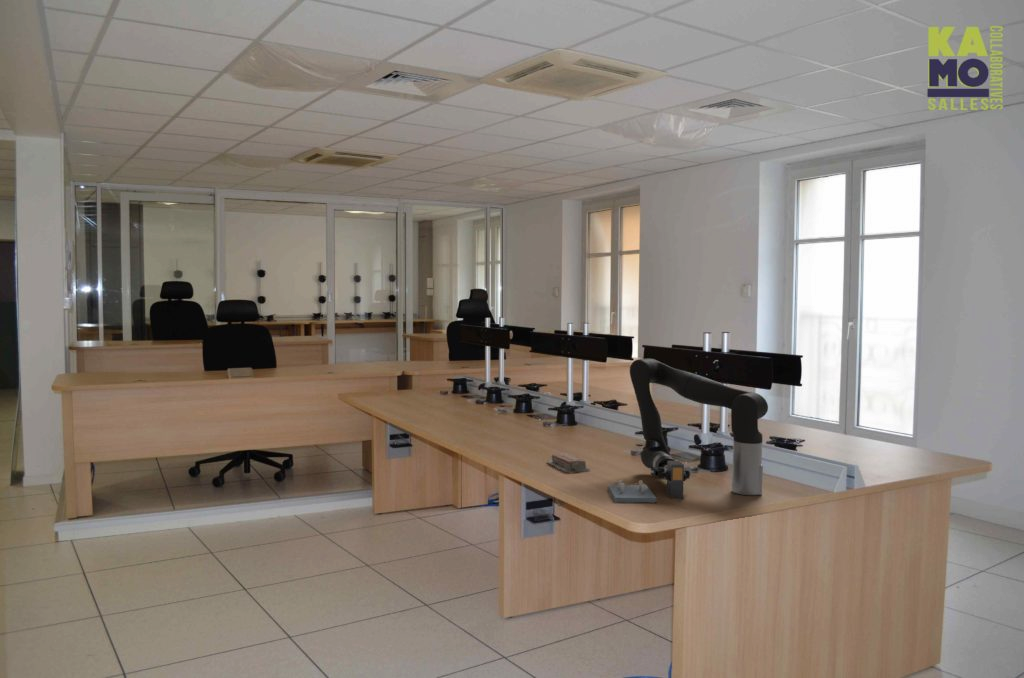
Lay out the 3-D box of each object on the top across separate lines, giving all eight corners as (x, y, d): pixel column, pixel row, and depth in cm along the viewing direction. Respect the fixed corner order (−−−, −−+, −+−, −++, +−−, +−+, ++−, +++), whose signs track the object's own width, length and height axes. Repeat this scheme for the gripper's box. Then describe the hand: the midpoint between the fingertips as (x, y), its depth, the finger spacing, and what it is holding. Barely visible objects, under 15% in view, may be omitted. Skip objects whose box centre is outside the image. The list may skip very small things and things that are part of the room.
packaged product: (591, 459, 280) (566, 461, 277) (590, 472, 281) (566, 474, 277) (569, 450, 297) (546, 451, 293) (569, 462, 297) (546, 464, 294)
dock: (646, 489, 254) (646, 476, 253) (656, 502, 238) (656, 488, 237) (607, 489, 253) (608, 476, 253) (615, 502, 237) (615, 488, 237)
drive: (678, 493, 249) (679, 460, 249) (683, 498, 243) (683, 464, 243) (666, 493, 249) (667, 460, 249) (670, 498, 243) (671, 464, 243)
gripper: (645, 455, 260) (655, 466, 243) (686, 455, 260) (699, 466, 243) (644, 476, 260) (655, 489, 243) (685, 477, 261) (699, 489, 243)
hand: (677, 477), depth 243 cm, fingers closed on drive, 4 cm apart
